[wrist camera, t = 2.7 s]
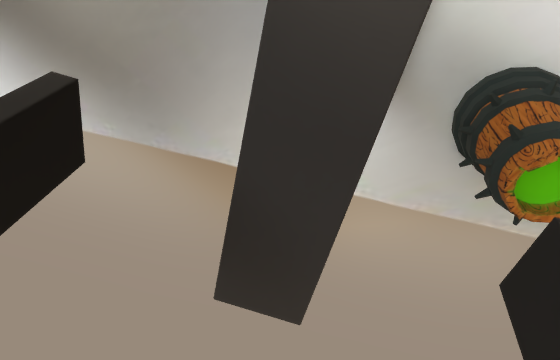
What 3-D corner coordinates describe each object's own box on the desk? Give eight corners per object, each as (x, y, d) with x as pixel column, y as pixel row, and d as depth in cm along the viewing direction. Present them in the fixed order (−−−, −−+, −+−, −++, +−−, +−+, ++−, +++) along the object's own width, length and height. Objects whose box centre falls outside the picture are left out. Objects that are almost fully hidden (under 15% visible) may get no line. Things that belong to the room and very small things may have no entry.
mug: (432, 159, 39) (451, 239, 29) (473, 52, 33) (513, 111, 24) (575, 186, 38) (642, 279, 28) (643, 80, 32) (757, 153, 22)
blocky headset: (261, 146, 29) (191, 293, 18) (327, -161, 19) (262, -254, 8) (342, 169, 29) (322, 332, 18) (451, -129, 19) (561, -180, 8)
